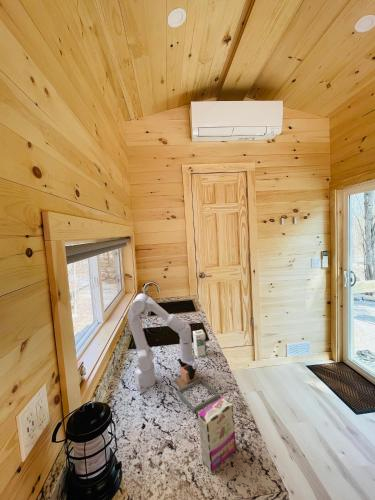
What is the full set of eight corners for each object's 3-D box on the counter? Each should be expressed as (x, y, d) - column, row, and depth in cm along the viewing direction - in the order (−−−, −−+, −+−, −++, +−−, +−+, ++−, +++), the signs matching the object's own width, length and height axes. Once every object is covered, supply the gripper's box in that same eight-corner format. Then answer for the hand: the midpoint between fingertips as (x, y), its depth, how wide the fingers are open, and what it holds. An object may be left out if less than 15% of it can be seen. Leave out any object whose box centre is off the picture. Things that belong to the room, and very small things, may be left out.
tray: (193, 415, 92) (193, 409, 92) (176, 395, 103) (176, 390, 103) (219, 399, 99) (219, 394, 99) (201, 382, 110) (201, 378, 110)
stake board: (180, 390, 106) (179, 379, 106) (172, 382, 112) (171, 371, 112) (198, 381, 111) (197, 370, 111) (190, 374, 117) (189, 363, 117)
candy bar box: (225, 439, 81) (222, 395, 79) (236, 450, 76) (233, 404, 75) (200, 460, 74) (197, 413, 72) (211, 473, 70) (207, 423, 68)
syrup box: (197, 359, 130) (195, 335, 129) (194, 354, 136) (192, 330, 134) (207, 357, 132) (205, 333, 130) (203, 352, 137) (201, 328, 136)
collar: (186, 383, 109) (186, 373, 108) (180, 377, 114) (180, 367, 113) (199, 377, 113) (198, 367, 112) (192, 371, 117) (192, 362, 117)
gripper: (201, 352, 107) (203, 380, 109) (185, 340, 119) (187, 365, 121) (189, 358, 104) (191, 386, 105) (173, 345, 116) (175, 370, 117)
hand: (188, 375), depth 113 cm, fingers closed on collar, 5 cm apart
